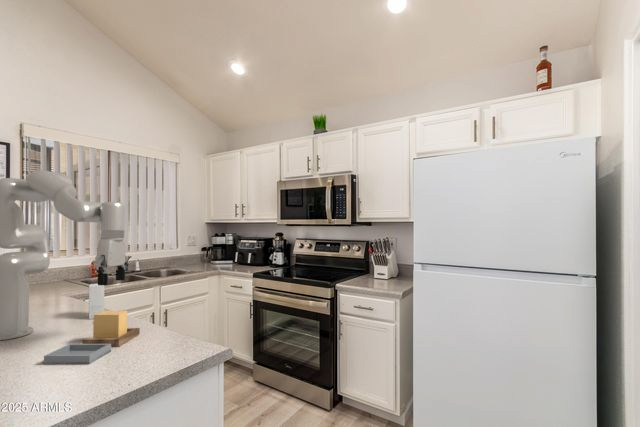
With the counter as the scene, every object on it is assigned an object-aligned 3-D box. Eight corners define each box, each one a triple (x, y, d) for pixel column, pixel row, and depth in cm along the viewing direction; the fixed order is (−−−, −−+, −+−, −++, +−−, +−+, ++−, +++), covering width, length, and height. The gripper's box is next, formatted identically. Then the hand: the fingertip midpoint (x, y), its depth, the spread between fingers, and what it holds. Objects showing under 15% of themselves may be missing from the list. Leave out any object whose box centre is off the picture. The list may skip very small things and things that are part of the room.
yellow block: (91, 343, 114) (91, 314, 114) (101, 338, 119) (101, 311, 119) (118, 343, 114) (118, 314, 114) (126, 338, 119) (127, 310, 119)
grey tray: (43, 364, 96) (44, 355, 96) (69, 351, 106) (69, 343, 106) (89, 364, 96) (89, 355, 96) (110, 351, 106) (111, 343, 106)
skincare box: (104, 317, 145) (104, 284, 146) (87, 319, 142) (88, 286, 143) (104, 313, 152) (105, 281, 153) (88, 315, 149) (89, 283, 150)
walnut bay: (82, 346, 110) (82, 339, 110) (106, 334, 122) (106, 328, 122) (118, 346, 110) (119, 339, 110) (139, 334, 122) (139, 327, 122)
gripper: (117, 235, 126) (116, 278, 126) (84, 236, 109) (84, 287, 108) (136, 234, 126) (135, 278, 125) (106, 236, 109) (106, 287, 108)
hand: (111, 282), depth 117 cm, fingers open, 9 cm apart
